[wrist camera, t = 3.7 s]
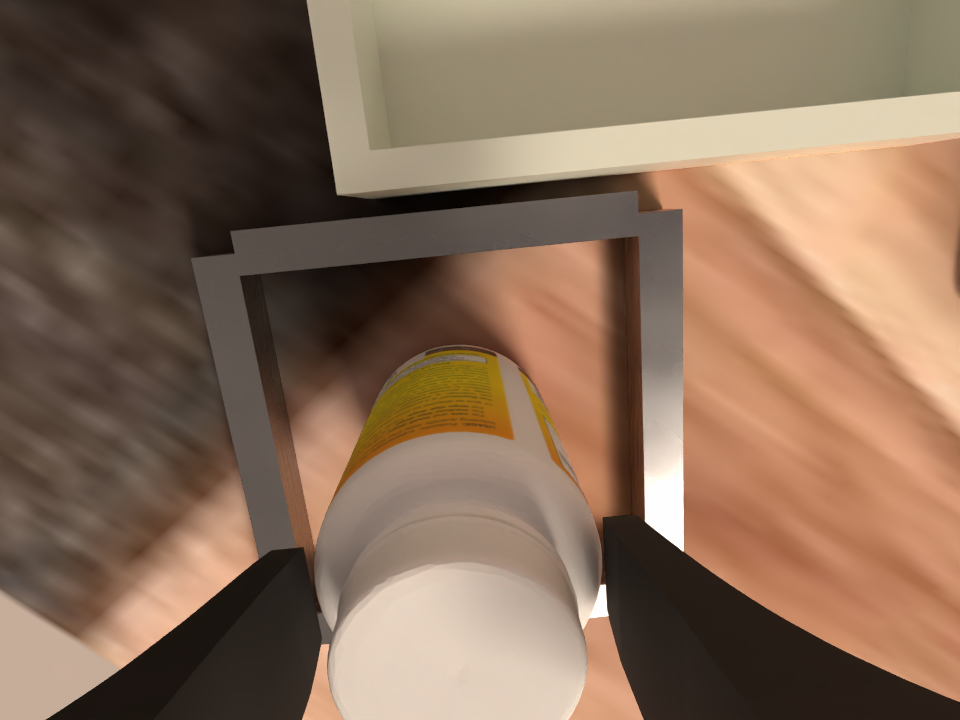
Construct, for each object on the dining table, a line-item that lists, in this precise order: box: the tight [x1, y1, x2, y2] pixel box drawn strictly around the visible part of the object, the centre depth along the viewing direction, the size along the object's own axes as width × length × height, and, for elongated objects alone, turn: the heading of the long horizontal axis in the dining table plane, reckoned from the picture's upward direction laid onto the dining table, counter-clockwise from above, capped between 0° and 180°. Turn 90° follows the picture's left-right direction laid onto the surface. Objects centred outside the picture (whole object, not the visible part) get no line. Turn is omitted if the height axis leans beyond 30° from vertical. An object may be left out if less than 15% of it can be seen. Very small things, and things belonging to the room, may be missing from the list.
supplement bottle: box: [314, 345, 602, 720], centre depth 13 cm, size 6×6×10 cm
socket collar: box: [191, 190, 683, 645], centre depth 17 cm, size 13×13×2 cm
